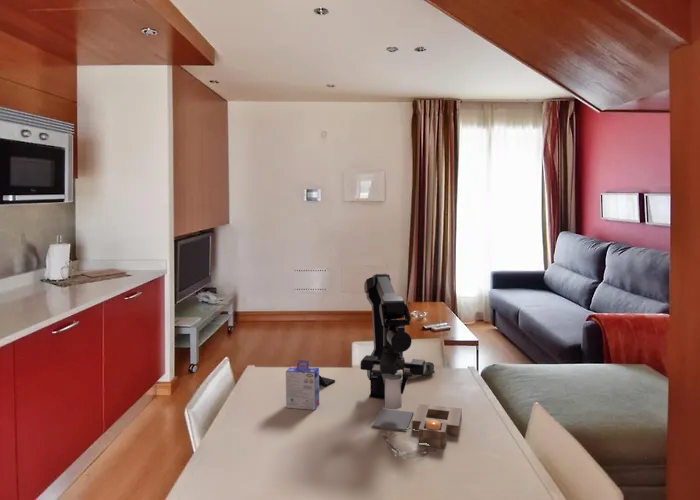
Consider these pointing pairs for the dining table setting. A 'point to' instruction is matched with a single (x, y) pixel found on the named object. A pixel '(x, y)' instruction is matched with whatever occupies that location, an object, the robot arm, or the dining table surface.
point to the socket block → (444, 415)
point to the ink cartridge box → (302, 387)
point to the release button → (433, 425)
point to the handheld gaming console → (325, 381)
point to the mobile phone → (427, 372)
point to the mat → (393, 419)
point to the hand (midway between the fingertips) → (393, 392)
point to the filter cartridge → (393, 391)
